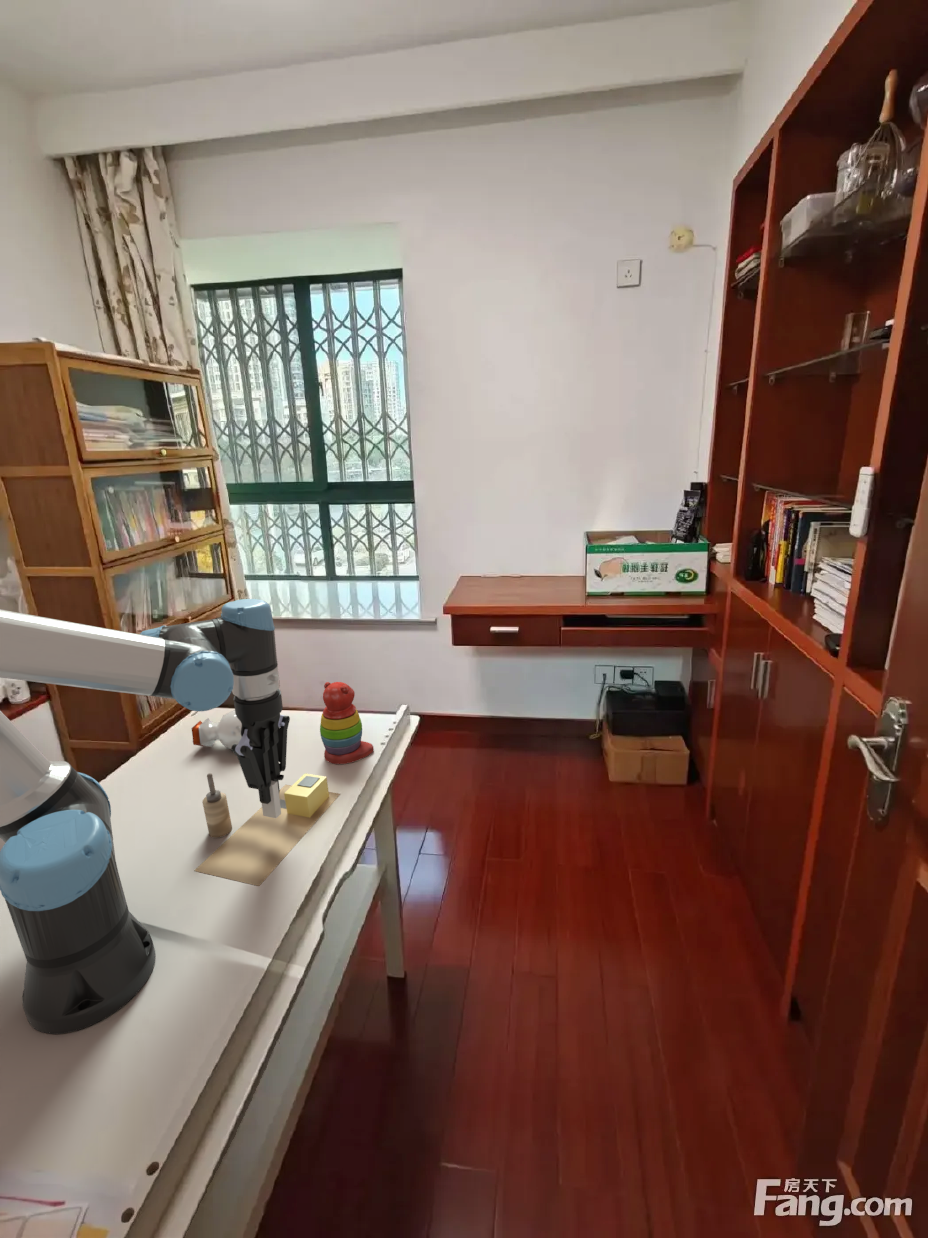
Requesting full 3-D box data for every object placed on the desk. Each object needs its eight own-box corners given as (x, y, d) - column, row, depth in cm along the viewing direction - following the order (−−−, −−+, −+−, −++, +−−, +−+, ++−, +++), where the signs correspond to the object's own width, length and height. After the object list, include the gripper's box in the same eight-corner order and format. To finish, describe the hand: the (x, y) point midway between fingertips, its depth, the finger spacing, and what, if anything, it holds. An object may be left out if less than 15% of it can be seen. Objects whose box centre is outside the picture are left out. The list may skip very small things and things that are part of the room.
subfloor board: (273, 895, 93) (272, 889, 92) (183, 873, 98) (182, 868, 98) (352, 800, 116) (351, 795, 116) (276, 787, 122) (275, 782, 121)
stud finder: (309, 817, 109) (306, 796, 108) (287, 813, 111) (283, 792, 110) (329, 796, 116) (326, 776, 114) (307, 792, 117) (304, 772, 116)
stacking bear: (377, 750, 135) (370, 679, 129) (346, 770, 127) (337, 696, 121) (344, 738, 141) (336, 670, 135) (312, 757, 133) (302, 686, 127)
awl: (223, 844, 105) (210, 781, 101) (205, 841, 106) (191, 778, 102) (237, 831, 109) (226, 769, 105) (220, 827, 110) (208, 766, 106)
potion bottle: (262, 754, 138) (204, 760, 140) (269, 717, 144) (213, 724, 146) (243, 738, 130) (182, 744, 132) (252, 700, 136) (193, 706, 138)
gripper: (250, 711, 89) (267, 841, 96) (298, 680, 101) (310, 798, 108) (210, 705, 91) (229, 833, 98) (262, 675, 103) (276, 791, 110)
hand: (272, 814), depth 103 cm, fingers closed
